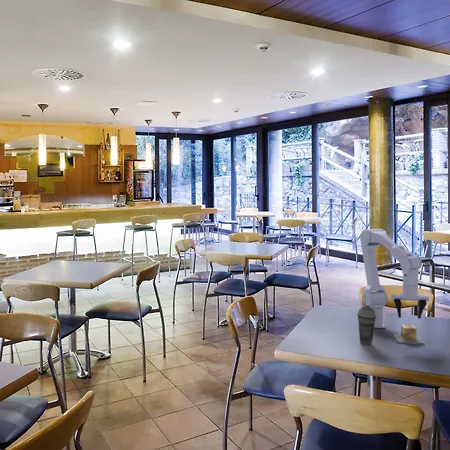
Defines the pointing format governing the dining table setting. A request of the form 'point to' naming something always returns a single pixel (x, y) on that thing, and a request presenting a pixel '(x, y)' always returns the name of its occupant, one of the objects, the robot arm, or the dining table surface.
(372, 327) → the beverage cup
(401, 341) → the coaster mat
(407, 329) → the oak cube
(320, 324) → the dining table surface
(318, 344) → the dining table surface
